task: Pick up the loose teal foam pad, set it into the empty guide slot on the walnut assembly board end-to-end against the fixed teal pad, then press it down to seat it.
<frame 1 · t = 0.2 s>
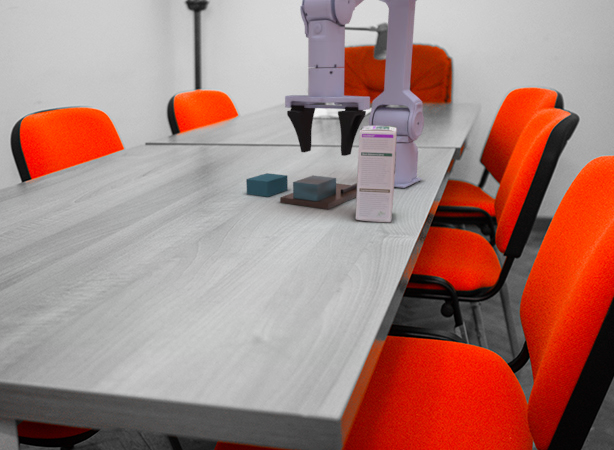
hand: (325, 153, 94), 10 cm above the table, tool pointing down, fingers open, 7 cm apart
assembly board: (325, 197, 108), on the table
loose pad: (267, 192, 113), on the table
syrup box: (373, 218, 93), on the table, touching gripper
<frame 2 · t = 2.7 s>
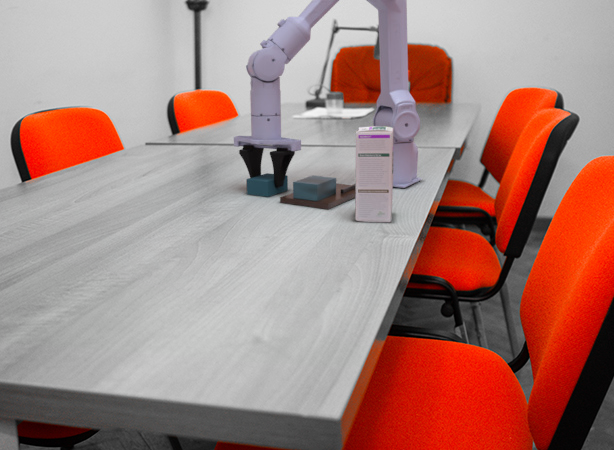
hand: (267, 185, 112), 1 cm above the table, tool pointing down, fingers closed on loose pad, 5 cm apart
loose pad: (267, 192, 113), on the table, touching gripper
syrup box: (373, 218, 93), on the table
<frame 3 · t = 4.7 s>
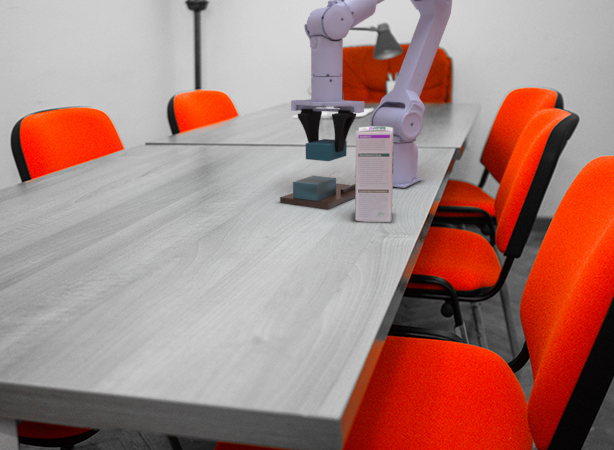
hand: (326, 150, 109), 8 cm above the table, tool pointing down, fingers closed on loose pad, 5 cm apart
loose pad: (326, 157, 109), point 7 cm above the table, touching gripper
everything else where it was.
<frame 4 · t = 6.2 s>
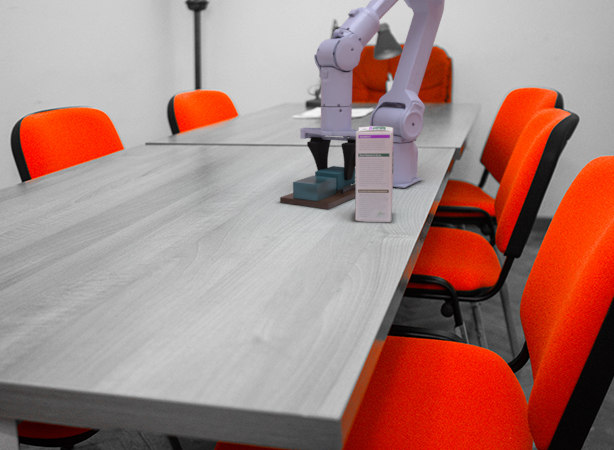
hand: (335, 178, 110), 3 cm above the table, tool pointing down, fingers closed on loose pad, 5 cm apart
loose pad: (335, 185, 110), point 2 cm above the table, touching gripper
everything else where it was.
when the fingers open (2 cm above the table, at t = 6.9 s): loose pad stays where it is, resting on assembly board.
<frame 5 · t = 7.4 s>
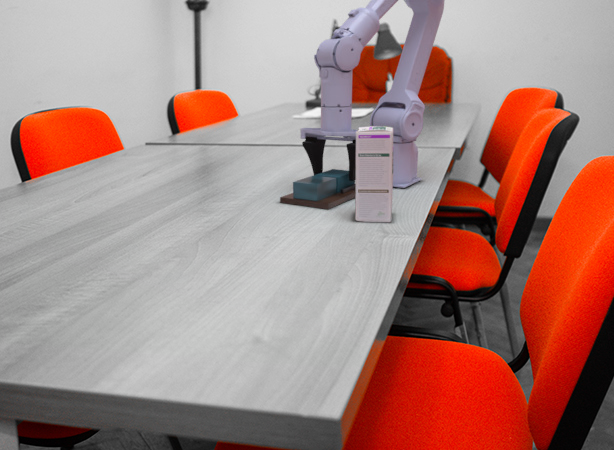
hand: (335, 178, 110), 3 cm above the table, tool pointing down, fingers open, 7 cm apart
loose pad: (335, 188, 110), point 1 cm above the table, touching assembly board
everything else where it was.
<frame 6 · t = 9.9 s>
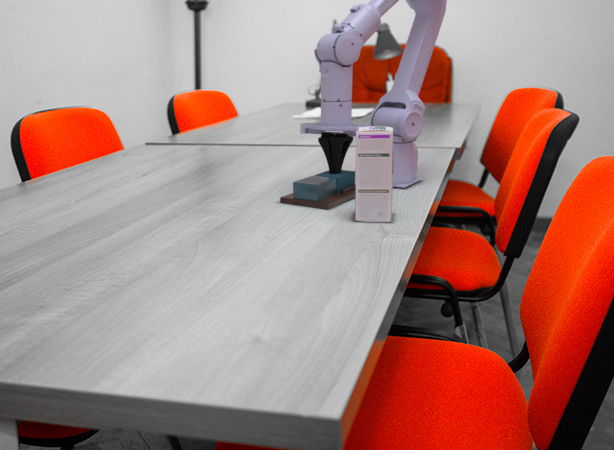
hand: (335, 173, 109), 4 cm above the table, tool pointing down, fingers closed, pressing on loose pad
loose pad: (335, 188, 110), point 1 cm above the table, touching assembly board, gripper
everything else where it was.
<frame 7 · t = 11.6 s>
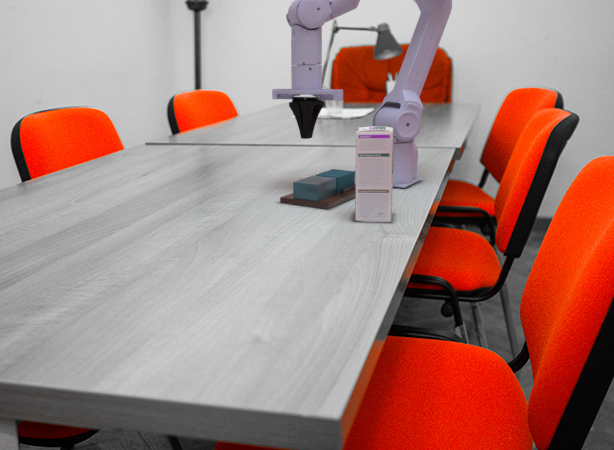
hand: (306, 138, 110), 10 cm above the table, tool pointing down, fingers closed
loose pad: (335, 188, 110), point 1 cm above the table, touching assembly board
everything else where it was.
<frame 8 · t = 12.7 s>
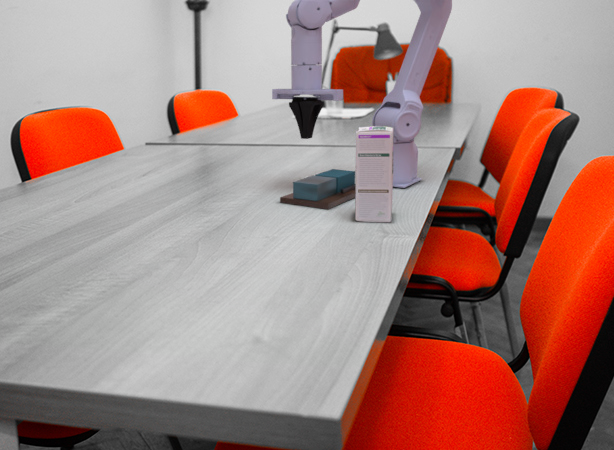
hand: (306, 138, 110), 10 cm above the table, tool pointing down, fingers closed
nothing on the table moved.
at the end: loose pad 0.0 cm from the target spot on the assembly board, point 1.0 cm above the assembly board's base; loose pad tilted 0°; the gripper is holding nothing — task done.
